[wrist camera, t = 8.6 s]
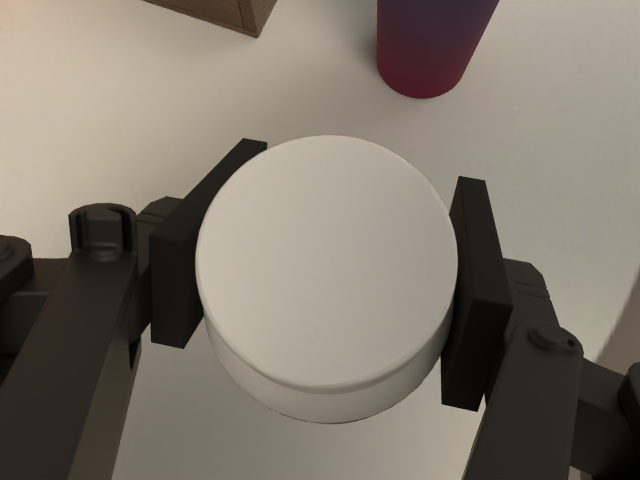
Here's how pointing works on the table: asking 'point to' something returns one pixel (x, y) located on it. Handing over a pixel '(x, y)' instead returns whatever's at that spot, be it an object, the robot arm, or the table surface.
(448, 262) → the pill bottle
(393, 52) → the cup
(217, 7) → the divided tray
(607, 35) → the table surface
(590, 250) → the table surface
